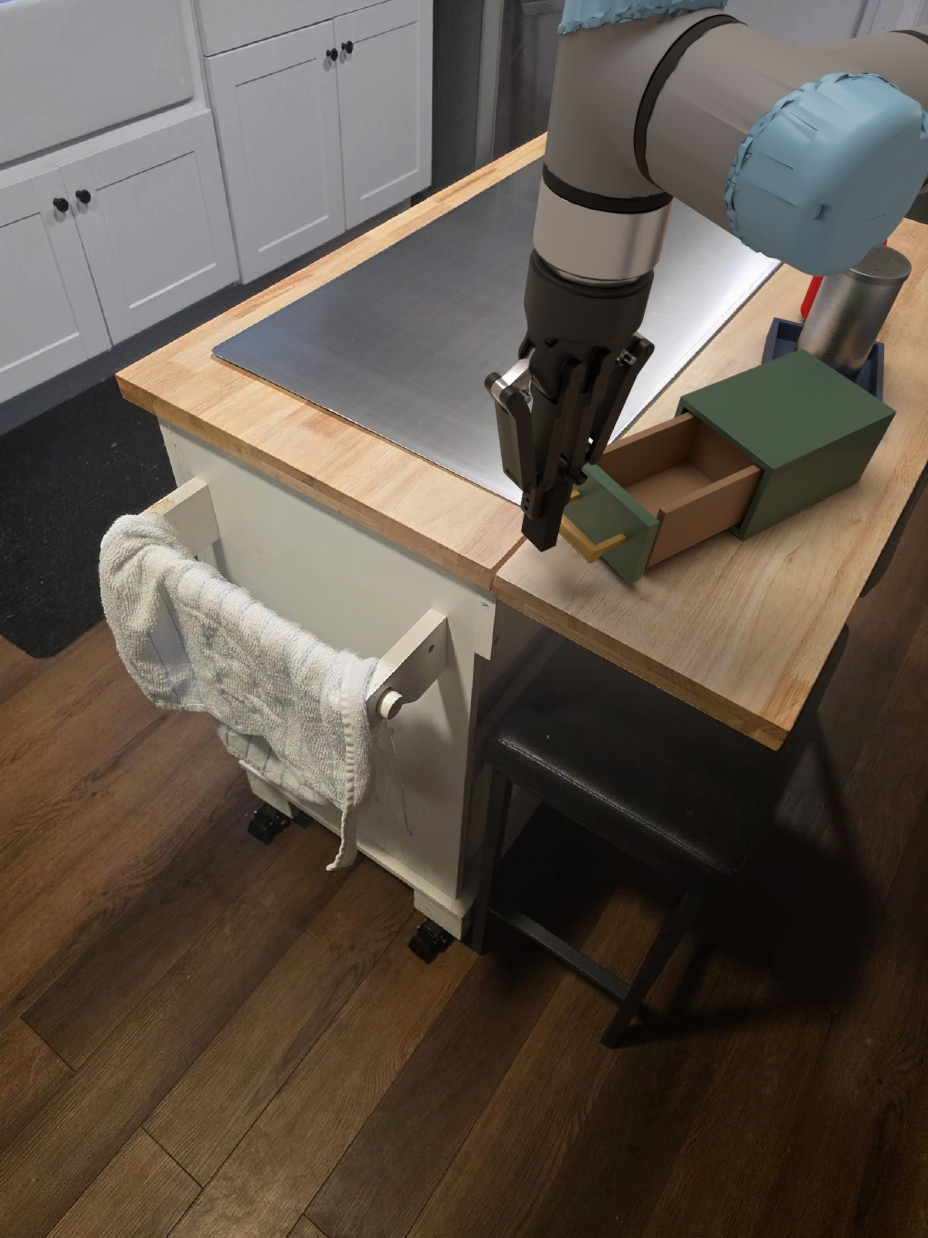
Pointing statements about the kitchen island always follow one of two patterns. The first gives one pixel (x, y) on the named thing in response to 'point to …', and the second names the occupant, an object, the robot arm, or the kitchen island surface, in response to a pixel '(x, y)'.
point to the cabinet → (793, 431)
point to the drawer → (659, 495)
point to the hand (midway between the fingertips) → (538, 538)
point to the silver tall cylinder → (853, 310)
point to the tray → (785, 340)
